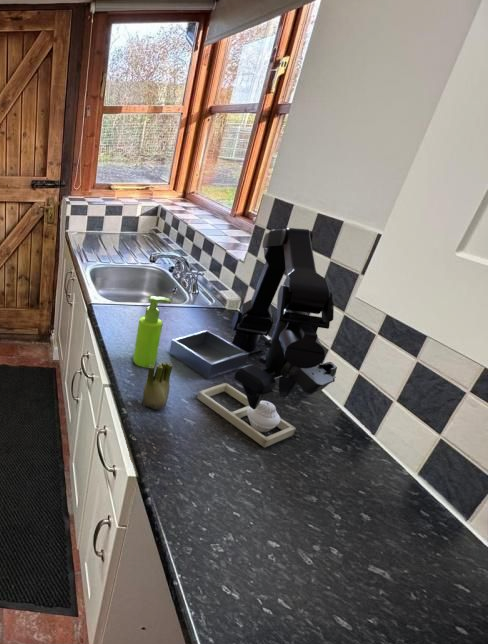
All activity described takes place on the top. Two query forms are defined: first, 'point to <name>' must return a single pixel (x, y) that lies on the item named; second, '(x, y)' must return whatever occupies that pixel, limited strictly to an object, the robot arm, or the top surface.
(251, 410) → the white spiral shell
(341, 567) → the top surface
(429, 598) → the top surface
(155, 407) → the fennel bulb
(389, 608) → the top surface
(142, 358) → the soap dispenser
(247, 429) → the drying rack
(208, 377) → the blue-grey square tray
